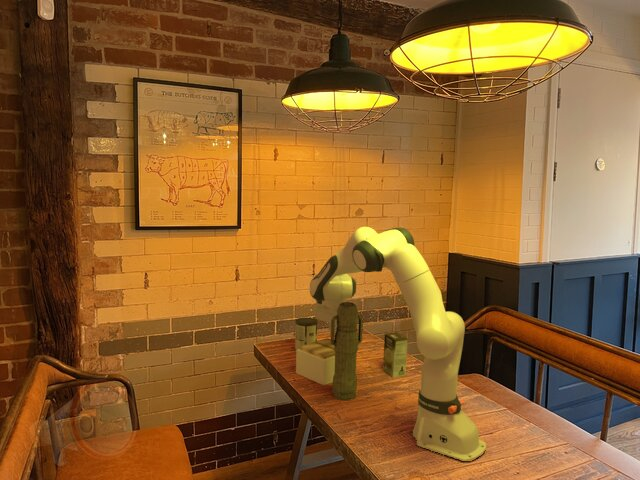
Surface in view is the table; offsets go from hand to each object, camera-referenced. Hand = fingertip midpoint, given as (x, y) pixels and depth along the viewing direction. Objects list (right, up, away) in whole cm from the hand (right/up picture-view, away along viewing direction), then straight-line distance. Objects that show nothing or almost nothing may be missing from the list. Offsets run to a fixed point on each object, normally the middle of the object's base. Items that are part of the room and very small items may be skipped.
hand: (334, 333), depth 207 cm
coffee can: (-13, -12, +22) cm, 28 cm away
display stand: (-4, -15, -5) cm, 17 cm away
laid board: (-6, -6, -9) cm, 12 cm away
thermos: (+3, -18, -25) cm, 31 cm away
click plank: (0, -5, -3) cm, 6 cm away
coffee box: (+25, -16, -2) cm, 30 cm away
